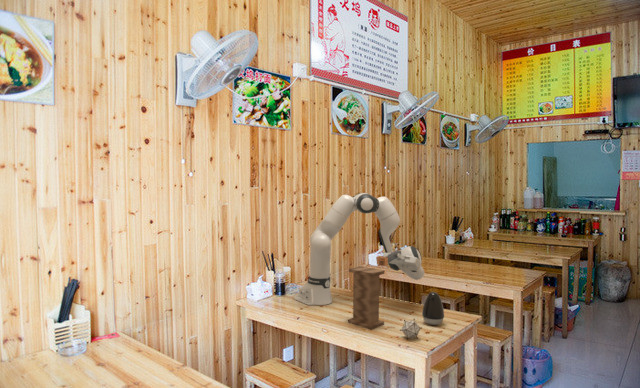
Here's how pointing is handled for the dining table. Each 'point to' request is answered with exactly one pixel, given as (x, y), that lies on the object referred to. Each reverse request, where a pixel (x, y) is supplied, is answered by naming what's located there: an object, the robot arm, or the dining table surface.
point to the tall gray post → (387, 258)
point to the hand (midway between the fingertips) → (394, 254)
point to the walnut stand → (366, 297)
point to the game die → (411, 329)
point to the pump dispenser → (433, 309)
